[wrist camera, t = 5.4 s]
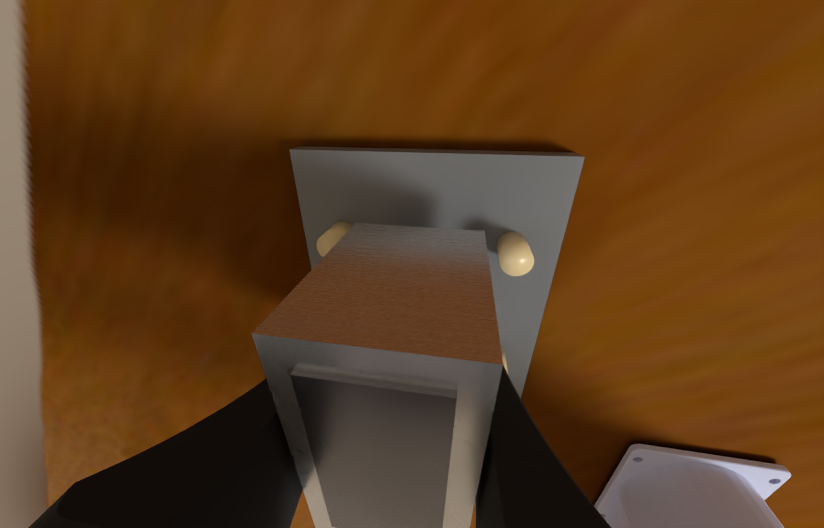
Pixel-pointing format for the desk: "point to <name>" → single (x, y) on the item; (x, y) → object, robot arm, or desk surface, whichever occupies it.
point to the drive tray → (453, 215)
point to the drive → (388, 376)
